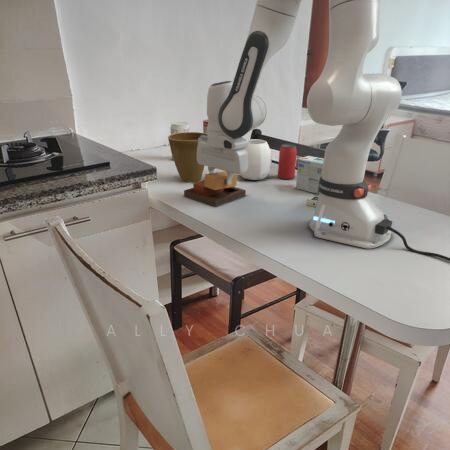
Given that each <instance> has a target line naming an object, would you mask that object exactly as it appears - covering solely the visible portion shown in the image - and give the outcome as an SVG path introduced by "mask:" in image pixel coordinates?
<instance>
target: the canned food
mask: <svg viewBox="0 0 450 450" xmlns="http://www.w3.org/2000/svg"><path fill="white" fill-rule="evenodd" d="M207 126H208V118H207V119H203V120H202V128H203V129H202V133H205V134H207Z"/></svg>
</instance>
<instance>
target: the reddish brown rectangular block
mask: <svg viewBox="0 0 450 450" xmlns="http://www.w3.org/2000/svg"><path fill="white" fill-rule="evenodd" d="M204 185H205V179H203V180H199V181H197V182H192V188H193V190H194V192H197V193H200V194H203V195H206V196H211V195H214V194H217V193H220V192H223V191H224V189H219V190H213V189H210V188H208V187H205V186H204Z"/></svg>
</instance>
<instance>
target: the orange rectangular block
mask: <svg viewBox="0 0 450 450" xmlns="http://www.w3.org/2000/svg"><path fill="white" fill-rule="evenodd" d="M227 177H228V175H227V171H224V170H222V171H217V172H216V171H215V173H205V175H204V180H205V185H204V186H205V187H208V188H210V189H213V190H219V189H224V188H229V187H237V180H238V179H237V178H238V174H235V173H234V176H233V178H232V181H231V184H230V185H227V184H225V179H227Z"/></svg>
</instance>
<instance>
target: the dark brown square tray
mask: <svg viewBox="0 0 450 450" xmlns="http://www.w3.org/2000/svg"><path fill="white" fill-rule="evenodd" d="M246 193H247V192H246V189H244V188H240V187H237V186H234V187H229V188H224V191H223V192H220V193H217V194H214V195H211V196H206V195H203V194H200V193H197V192H194V190H193V187H191V188H188V189H183V197H185V198H188V199H190V200H193V201H197V202H200V203H203V204H206V205H209V206H212V207H214V208H216V207H219V206H222V205H224V204H227V203H230V202H232V201H235V200H238V199H241V198H244V197H246Z"/></svg>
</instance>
